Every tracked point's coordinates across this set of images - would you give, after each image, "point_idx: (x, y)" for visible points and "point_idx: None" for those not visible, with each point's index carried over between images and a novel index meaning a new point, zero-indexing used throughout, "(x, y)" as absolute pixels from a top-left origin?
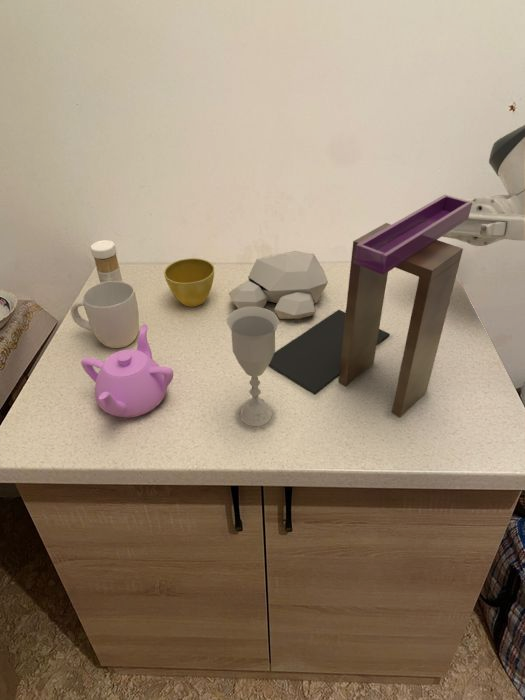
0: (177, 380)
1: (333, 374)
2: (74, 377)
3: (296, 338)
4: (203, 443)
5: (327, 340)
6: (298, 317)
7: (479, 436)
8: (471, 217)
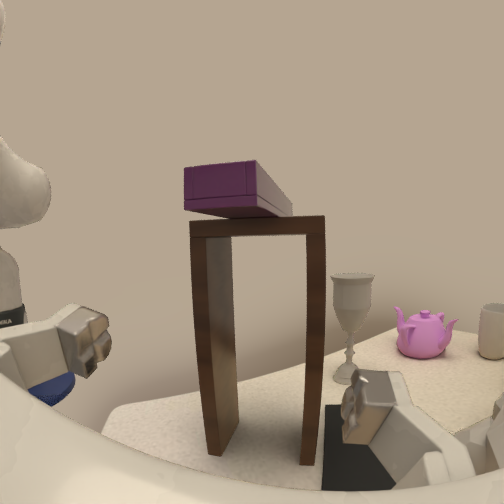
0: (422, 365)
1: (329, 425)
2: (457, 339)
3: None
4: None
5: None
6: None
7: (143, 423)
8: (118, 442)
